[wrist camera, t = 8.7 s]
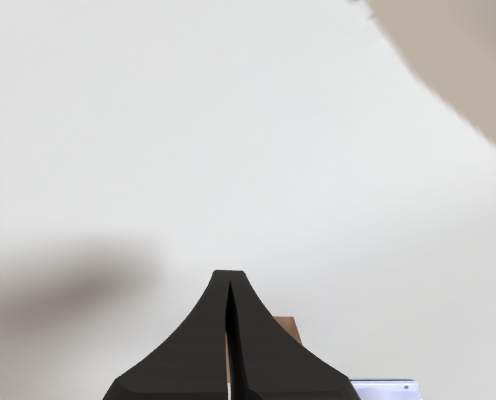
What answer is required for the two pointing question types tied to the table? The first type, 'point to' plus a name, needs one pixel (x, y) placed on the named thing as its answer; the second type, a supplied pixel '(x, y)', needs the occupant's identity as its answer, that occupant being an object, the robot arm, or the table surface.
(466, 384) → the table surface
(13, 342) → the table surface
